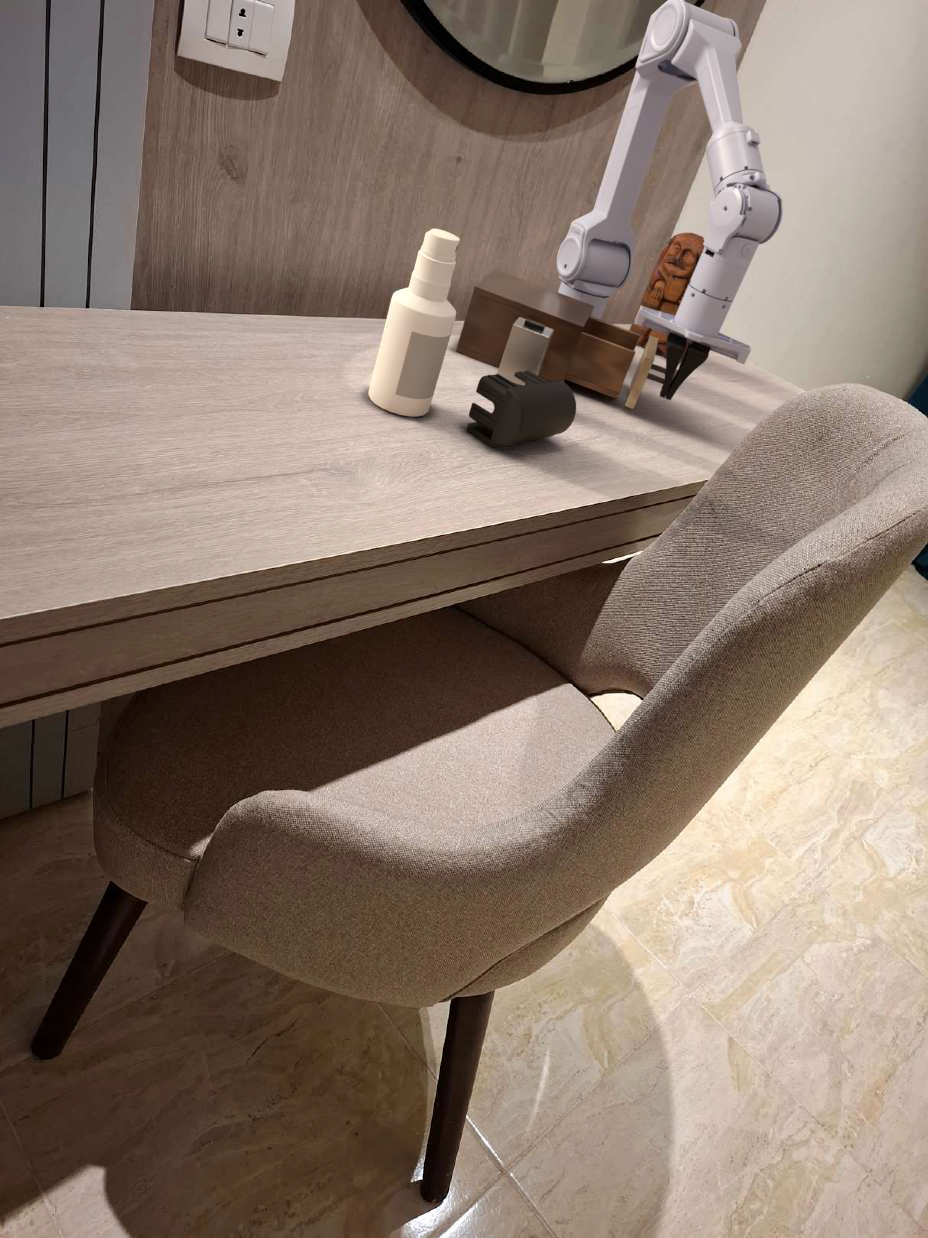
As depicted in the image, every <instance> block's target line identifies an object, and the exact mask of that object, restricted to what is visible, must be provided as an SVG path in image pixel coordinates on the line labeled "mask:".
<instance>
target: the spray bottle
mask: <svg viewBox="0 0 928 1238" xmlns="http://www.w3.org/2000/svg"><path fill="white" fill-rule="evenodd" d="M460 240H461V239H460V237H459V236H457V235H455V234H453V233H451V232H449V231H446V230H443V229H439V228H431V229H430V230H428V231H426V232H425V235H424V238H423V243H422V245H421V246H420V249H419V250H418V252H417V256H416V259H415V265H414V268H413V271H412V272H411V277H410V281H409V284H408V287H404V288H401V289H398V290H396V291H394V292H393V293H392V296H391V299H390V302H389V307H388V311H387V315H386V319H385V324H384V327H383V330H382V331H383V332H382V335H381V339H380V344H379V349H378V352H377V356H376V360H375V364H374V367H373V372H372V376H371V380H370V383H369V389H368V397H369V399H370V400H371V401H372V403H374V404H375V406H377V407H379V408H381V409H383V410H385V411H387V412H390V413H392V414H396V415H399V416H405V417H422V416H425V415H426V414H427V413H428V412H429V411H430V409H431V405H432V402H433V397H434V395H435V391H436V387H437V384H438V380H439V377H440V374H441V370H442V368H443V367H442V365H443V363H444V360H445V356H446V353H447V349H448V346H449V342H450V339H451V336H452V331H453V328H454V325H455V321H456V317H457V311H456V308H455V307H454V306H453V305H452V304H451V302H450V301H449V300H448V296H449V292H450V289H451V286H452V279H453V275H454V271H455V269H456V264H457V261H456V258H457V252H458V248H459V245H460Z"/></svg>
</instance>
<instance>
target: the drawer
mask: <svg viewBox="0 0 928 1238" xmlns="http://www.w3.org/2000/svg"><path fill="white" fill-rule="evenodd" d="M629 330H630V329H627V328H624V327H621V326H619V325H615V324H613V323H610V322H608V321H605V320H602V319H601V320H600V319H597V318H594V317H592V316H590V317H589V319H588V321H587V323H586V325H585V327H584V329H583V331H582V334H581V336H580V339H579V342H578V345H577V347H576V350H575V353H574V355H573V358H572V361H571V364H570V366H569V369H568V372H567V374H566V377H565V381H568V382H570V383H574V384H576V385H579V386H581V387H584V388H587V389H589V390H591V391H594V392H597V393H600V394H602V395H606V396H608V397H610V398H614V399H618V397H619V394H620V393H621V392H620V391H621V389H622V387H623V385H624V382H625V380H626V377H627V376H628V372H629V369H630V367H631V364H632V362H633V360H634V358H635V355H636V351H635V350H636V347H637V346H638V345H637V342H638V340H639V337H640V334H637V333H635V332H632V331H629ZM657 343H658V338H656V337H653V336H650V337H649V340H648V342H647V345H646V347H644V349H643V351H642V352H643V353H642V354H641V357H640V359H639V362H638V364H637V366H636V369H635V372H634V374H633V376H632V379H631V381H630V385H629V389H628V393H627V396H626V400H625V404H624V407H627V408H629V409H632V410H634V409H635V407H636V404H637V402H638V399H639V397H640V395H641V392H642V390H643V388H644V385H645V383H646V382H647V380H651V381H653V382H656V383H659V384H661V385H663V382H664V377H661V376H658V375H655V374H653V373H650V371H651V370H653V371H655V372H658V373H661V374H664V375H665V371H666V367H663V366H660V365H658V364H655V363H654V361H655V359H656V354H657V353H656V348H657ZM677 371H678V368H677V369H676V371H675V373H674V376H673V378H674V377H675V375H676V373H677ZM673 378H672V380H673ZM671 382H672V381H671Z"/></svg>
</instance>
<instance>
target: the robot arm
mask: <svg viewBox="0 0 928 1238" xmlns="http://www.w3.org/2000/svg"><path fill="white" fill-rule="evenodd" d="M738 26H739V25H737V22H736V21H735V20H733V19H731V18H728V17H724V16H720V15H718V14H716V13H713V12H712V11H708V10H706V9H703V8H702V7H698V6H696V5H694V4H691V3H689V2H686V0H667V1H665V2H664V3H663V4H661V5H660V7H658V8H657V9H656V10H655V11H654V12H653V13H652V14H651V15H650V17H649V21H648V24H647V27H646V31H645V34H644V36H643V40H642V44H641V47H640V50H639V53H638V57H637V60H636V62H635V69H636V71H635V73H634V77H633V80H632V83H631V86H630V89H629V93H628V95H627V99H626V103H625V106H624V109H623V112H622V116H621V118H620V122H619V124H618V128H617V132H616V135H615V138H614V141H613V144H612V148H611V151H610V154H609V157H608V160H607V164H606V167H605V170H604V173H603V177H602V180H601V184H600V187H599V190H598V193H597V195H596V199H595V203H594V206H593V209H592V211H590V212H588V213H586V214H584V215H582V216H580V217H578V218H576V219H574V220H573V221H571V222H570V226H569V229H568V232H567V234H566V236H565V238H564V239H563V241H562V242H561V244H560V246H559V249H558V251H557V255H556V269H557V273H558V279H560V280H561V282H560V284H559V288H558V291H557V292H558V293H561V294H563V295H566V296H569V297H571V298H574V299H577V300H579V301H582V302H585V303H587V304H590V305H593V306H594V309H593V312H592V314H591V316H592V317H594V318H597V319H600V320H602V317H603V315H604V311H605V309H606V306H607V304H608V302H609V299H610V296H611V297H614V296H615V295H616V293H617V291H618V290H620V289H622V288H624V286H626V284H627V283H628V282H629V280H630V278H631V276H632V273H633V270H634V264H635V263H634V262H635V261H634V260H635V252H636V248H637V245H638V237H637V235H636V233H635V232H634V231H635V230H633V227H632V225H631V220H632V217H633V214H634V211H635V208H636V205H637V203H638V199H639V196H640V194H641V193H640V192H641V190H642V187H643V184H644V180H645V178H646V175H647V172H648V169H649V165H650V162H651V160H652V156H653V154H654V150H655V147H656V144H657V141H658V138H659V135H660V131H661V128H662V126H663V123H664V120H665V117H666V114H667V110H668V108H669V104H670V101H671V99H672V97H673V96H674V95H675V94H677V93H678V92H680V91H681V90H682V89H684V88H689V87H691V86H694V85H697V84H698V86H699V90H700V95H701V98H702V101H703V104H704V108H705V112H706V115H707V119H708V122H709V126H710V129H711V132H712V135H711V137H710V138H709V140H708V141H707V144H706V146H705V154H706V159H707V165H708V169H709V173H710V179H711V183H712V184H711V185H712V190H713V194H714V200H711V201H710V204H709V207H708V211H707V229H706V231H705V234H704V236H703V237H704V243H703V244H704V246H705V247H704V249H703V252H702V254H701V256H700V259H699V261H698V264H697V266H696V268H695V271H694V273H693V275H692V278H691V280H690V282H689V285H688V287H687V289H686V292H685V294H684V297H683V299H682V301H681V304H680V306H679V308H678V311H677V313H676V315H675V316H674V315H670V314H667V313H663V312H660V311H656V310H653V309H650V308H647V307H644V306H640V309H639V311H638V314H637V316H636V319H635V322H634V324H636V325H639V326H646V327H648V328H651V329H654V330H656V331H659V332H662V333H665V334H667V342H666V356H665V357H666V358H665V368H666V371H665V374H664V377H663V378H664V382H663V384H662V386H661V389H660V392H659V397H660V398H662V399H666V400H669V401H672V399H673V397H674V395H675V394H676V392H677V391H678V390H679V389H680V387H681V386H682V385H683V383H684V382H685V381H686V380H687V379H688V378H689V376H691V374H693V373H694V372H695V371H696V370H697V369H698V368H699V367H700V366H702V365H703V364H704V363H705V362H706V361H707V359H708V358H709V356H710V351H711V352H713V353H716V354H719V355H722V356H725V357H726V358H729V359H732V360H735V361H736V362H737V363H739V364H742V365H745V364H746V362H747V360H748V358H749V355H750V354H751V351H752V346H751V345H749V344H746V343H744V342H742V341H739V340H737V339H735V338H733V337H730V336H729V335H726V334H723V333H721V332H720V331H721V329H722V327H723V324H724V322H725V320H726V318H727V315H728V313H729V311H730V309H731V307H732V304H733V302H734V300H735V298H736V296H737V294H738V291H739V290H740V287H741V285H742V283H743V281H744V278H745V276H746V274H747V272H748V270H749V267H750V265H751V263H752V261H753V259H754V256H755V255H756V252H757V250H758V247H759V246H760V245H762V244H765V243H767V242H768V241H769V240H771V239H772V238H773V237H774V235H776V232H777V231H778V229H779V228H780V226H781V222H782V219H783V211H784V210H783V209H784V208H783V199H782V197H781V195H780V194H779V192H776V191H774V190H772V188H771V185H770V184H768V183H767V182H768V181H767V177H766V173H765V171H764V167H763V161H762V157H761V152H760V148H759V145H760V144H761V137H760V133H759V132H756V130H755V129H754V128H753V127H751V126H750V125H747V124H744V121H743V119H744V118H743V113H742V104H741V103H742V102H741V96H740V88H739V79H738V78H739V77H738V72H737V71H738V70H737V61H738V58H739V57H740V54H741V51H742V48H743V45H742V42H741V39H740V30H739V27H738ZM599 238H600V239H599ZM604 239H605V240H604ZM686 342H689V344H688V347H687V349H686V352H685V347H686ZM684 352H685V354H684ZM683 354H684V357H683V359H681V358H682V356H683ZM676 369H677V370H678V371H677V373H676V375H675V377H674V378H673V376H674V373H675V371H676ZM672 378H673V380H672ZM671 381H672V382H671Z"/></svg>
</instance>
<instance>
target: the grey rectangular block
mask: <svg viewBox="0 0 928 1238" xmlns="http://www.w3.org/2000/svg"><path fill="white" fill-rule="evenodd" d="M553 332H554V330H553V329H551V328H548V327H545V325H543V324H541V323H538V322H535V321H533V320H530V319H524V318H521V317H519V318H518V319H517V320H516V322H515V323H514V324H513V327H512V330H511V333H510V336H509V339H508V342H507V345H506V348H505V351H504V354H503V357H502V360H501V364H500V367H498V370H497V373H496V374H499V375H501V376H503V377H504V378H506V379H508V380H509V381H511V382H513V383H516V384H520V385H525V382H523V381H521V380H520V379H518V378H516V377H515V376H514V375H515V372H520V371H521V372H523V371H527V370H528V371H530V372H532V373H534V374H535V375H537V376H538V375H539V372H540V369H541V366H542V363H543V361H544V358H545V355H546V352H547V349H548V346H549V344H550V341H551V338H552V335H553Z"/></svg>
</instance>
